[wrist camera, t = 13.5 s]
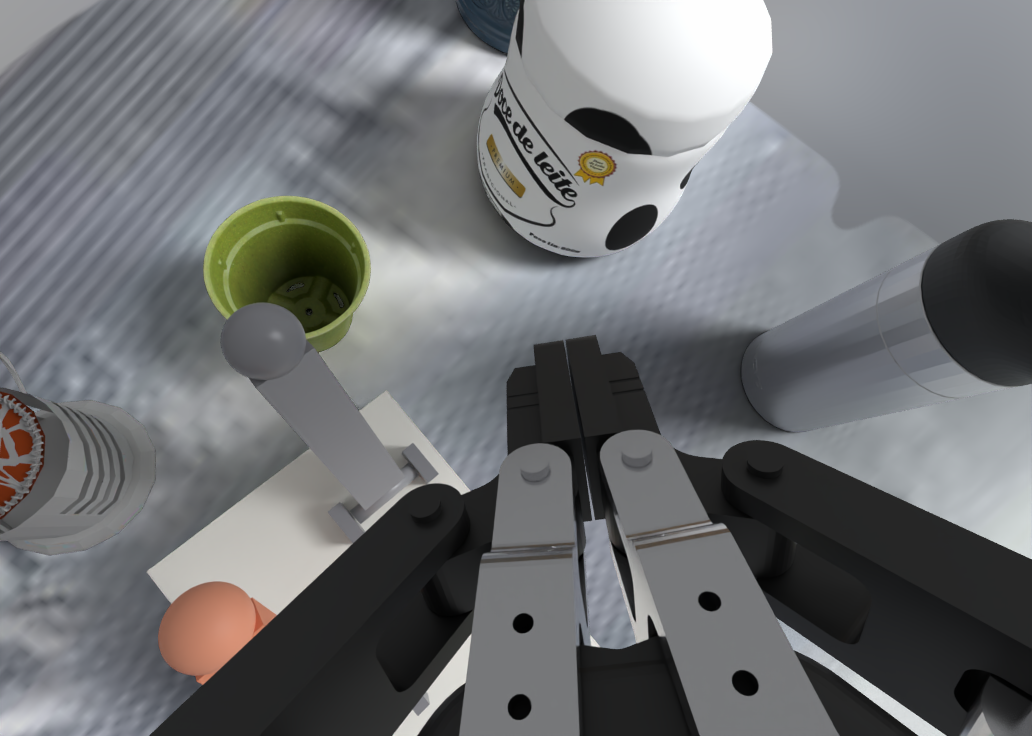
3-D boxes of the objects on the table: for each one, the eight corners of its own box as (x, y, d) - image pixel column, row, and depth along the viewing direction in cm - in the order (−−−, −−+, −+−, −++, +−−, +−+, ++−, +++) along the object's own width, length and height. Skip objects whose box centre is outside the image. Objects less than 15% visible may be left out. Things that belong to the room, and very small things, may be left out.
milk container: (436, 215, 45) (460, 33, 28) (516, 69, 51) (575, -156, 34) (622, 305, 47) (751, 184, 30) (680, 154, 52) (816, -21, 35)
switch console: (630, 700, 39) (838, 863, 20) (456, 909, 33) (526, 1373, 15) (353, 365, 41) (317, 243, 23) (147, 513, 35) (-113, 509, 17)
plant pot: (398, 338, 42) (398, 295, 34) (280, 399, 39) (249, 368, 31) (338, 239, 43) (324, 173, 35) (219, 291, 40) (173, 233, 32)
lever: (420, 722, 29) (243, 595, 19) (353, 789, 28) (128, 690, 18) (392, 675, 31) (221, 541, 21) (330, 735, 30) (117, 621, 20)
